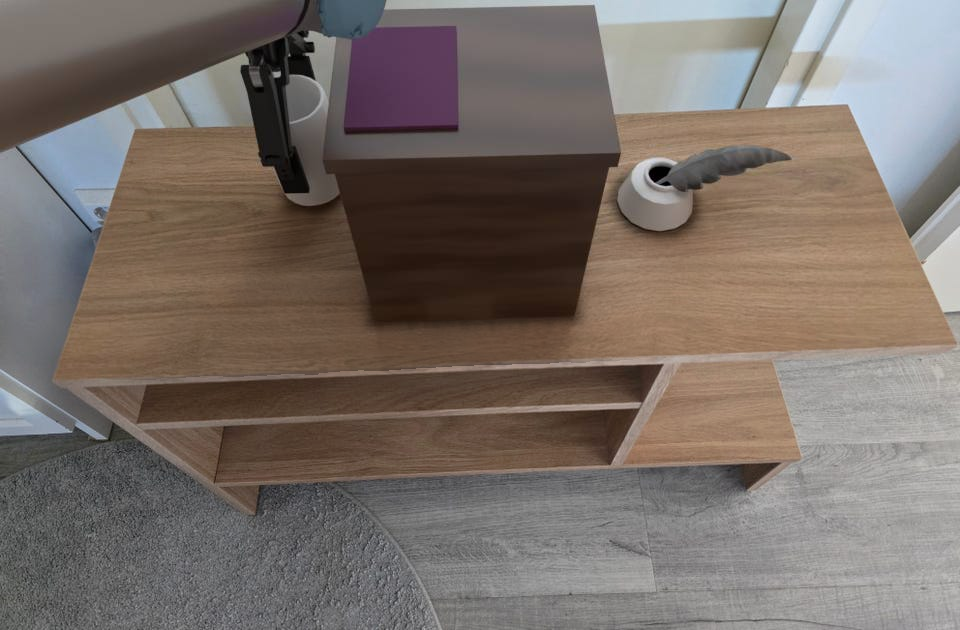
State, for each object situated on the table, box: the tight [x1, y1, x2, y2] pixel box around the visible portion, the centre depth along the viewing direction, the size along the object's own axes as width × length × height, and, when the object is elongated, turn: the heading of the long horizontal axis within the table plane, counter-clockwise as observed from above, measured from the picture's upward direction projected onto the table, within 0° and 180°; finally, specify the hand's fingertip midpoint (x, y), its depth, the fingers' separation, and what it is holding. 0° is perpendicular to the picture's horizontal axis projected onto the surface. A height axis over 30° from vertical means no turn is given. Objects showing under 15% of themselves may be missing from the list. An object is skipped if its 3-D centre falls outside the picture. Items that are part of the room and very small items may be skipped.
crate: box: [322, 4, 622, 323], centre depth 68 cm, size 18×23×26 cm
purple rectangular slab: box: [343, 26, 458, 131], centre depth 56 cm, size 12×9×1 cm
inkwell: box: [616, 144, 793, 232], centre depth 79 cm, size 9×18×10 cm, turn 90°
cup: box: [271, 75, 340, 207], centre depth 78 cm, size 8×8×14 cm
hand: (303, 145), depth 78 cm, fingers open, 13 cm apart
